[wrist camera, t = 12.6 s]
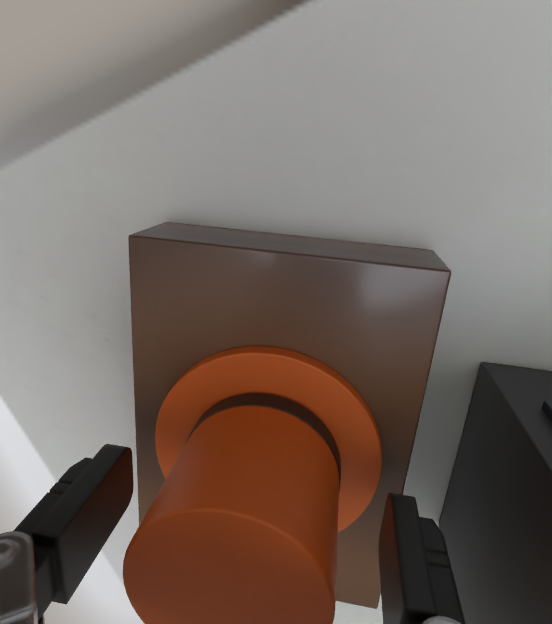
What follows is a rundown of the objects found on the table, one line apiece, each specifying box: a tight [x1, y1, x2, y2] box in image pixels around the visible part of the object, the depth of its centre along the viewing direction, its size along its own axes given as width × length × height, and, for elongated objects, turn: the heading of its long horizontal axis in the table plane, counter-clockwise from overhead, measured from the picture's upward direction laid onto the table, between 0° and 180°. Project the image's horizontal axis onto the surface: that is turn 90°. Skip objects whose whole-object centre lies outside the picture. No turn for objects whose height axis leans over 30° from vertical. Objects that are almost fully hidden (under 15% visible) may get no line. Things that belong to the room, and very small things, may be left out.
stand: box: [129, 222, 451, 609], centre depth 17 cm, size 14×10×3 cm
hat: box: [123, 346, 382, 624], centre depth 13 cm, size 8×8×6 cm
